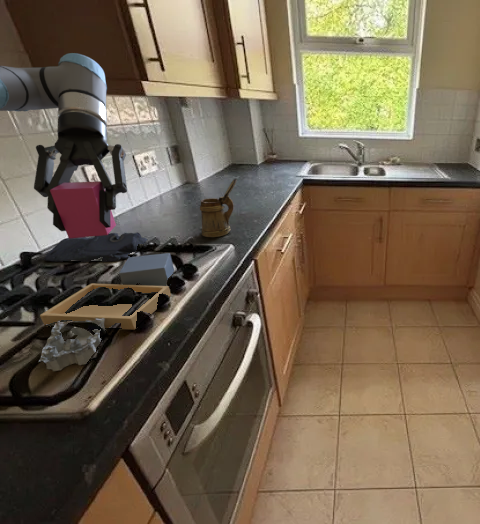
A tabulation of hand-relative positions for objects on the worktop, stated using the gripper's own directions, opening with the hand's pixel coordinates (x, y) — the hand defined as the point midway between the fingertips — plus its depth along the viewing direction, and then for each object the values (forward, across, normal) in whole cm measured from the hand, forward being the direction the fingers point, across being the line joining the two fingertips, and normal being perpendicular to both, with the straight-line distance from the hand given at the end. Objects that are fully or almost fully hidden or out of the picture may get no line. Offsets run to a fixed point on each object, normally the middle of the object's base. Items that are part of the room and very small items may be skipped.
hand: (82, 225), depth 60 cm
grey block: (+4, -4, -23) cm, 24 cm away
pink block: (-1, 0, -4) cm, 4 cm away
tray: (+12, +1, -15) cm, 19 cm away
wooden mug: (-18, -21, -46) cm, 53 cm away
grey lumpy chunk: (+21, +3, -6) cm, 22 cm away
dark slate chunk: (-13, +12, -41) cm, 45 cm away
